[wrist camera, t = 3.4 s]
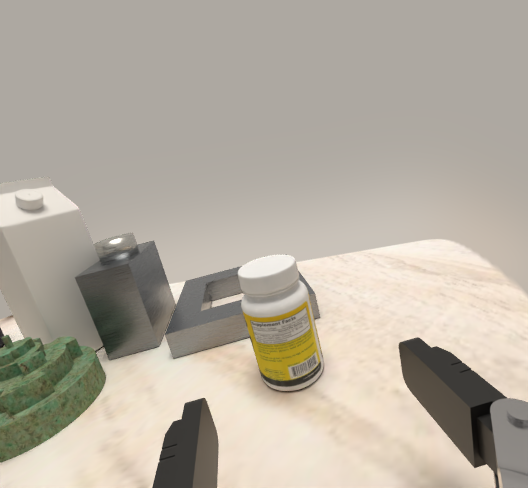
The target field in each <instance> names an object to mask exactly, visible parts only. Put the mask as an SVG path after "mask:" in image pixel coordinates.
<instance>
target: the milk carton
mask: <svg viewBox="0 0 528 488" xmlns="http://www.w3.org/2000/svg"><path fill="white" fill-rule="evenodd" d="M98 261H100V260H99V258H98V255H97V253H96V250H95V247H94V244H93V242H92V239H91V237H90V234H89V232H88V229H87V227H86V224H85V222H84V220H83V217H82V214H81V212H80V209H79V207H78V206H76V205H75V204H74V203H73V202H72V201H70V200H69V199H68V198H67V197H65V196H64V195H63V194H62V193H61V192H59V191H58V190H57V189H56V188H54V187H53V185H52V183H51V181H50V178H49V177H41V178H34V179H27V180H20V181H13V182H6V183H0V290H1V292H2V294H3V296H4V298H5V300H6V302H7V304H8V306H9V308H10V310H11V312H12V314H13V316H14V318H15V320H16V322H17V325H18V327H19V329H20V331H21V333H22V335H23V337H24V339H25V338H26V337H31V338H32V339H36V338H40V339H41V341H42V343H43V345H44V344H48V343H51V342H53V341H54V340H55V339H57V338H58V337H64V336H70V337H74V338H76V340H77V342H78V344H79V346H88V347H91V348H93V349H94V350H95V351H96V350H98V349H99V348H101V347H102V346H103V343H102V341H101V338H100V336H99V334H98V331H97V329H96V327H95V324H94V322H93V320H92V317H91V315H90V312H89V310H88V308H87V305H86V303H85V301H84V298H83V296H82V294H81V291H80V289H79V286H78V284H77V282H76V279H75V277H76V276H77V275H79V274H80V273H82V272H83V271H85V270H86V269H88V268H89V267H91V266H92V265H94V264H95V263H97V262H98Z"/></svg>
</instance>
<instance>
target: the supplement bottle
mask: <svg viewBox="0 0 528 488" xmlns="http://www.w3.org/2000/svg"><path fill="white" fill-rule="evenodd" d="M238 278H239V282H240V287H241V290H242V292H243V293H244V294H245V295H244V296H243V298H242V302H241V307H242V311H243V315H244V318H245V321H246V325H247V328H248V332H249V335H250V339H251V342H252V345H253V349H254V352H255V356H256V359H257V363H258V366H259V369H260V373H261V376H262V379H263V380H264V382H265V383H266V384H267V385H268V386H269V387H271V388H273V389H276V390H280V391H293V390H298V389H302V388H304V387H307V386H309V385H310V384H312V383H313V382H314V381H316V380H317V378H318V377H319V376H320V374H321V372H322V370H323V366H324V361H323V356H322V351H321V347H320V342H319V338H318V334H317V329H316V325H315V321H314V316H313V312H312V307H311V303H310V298H309V293H308V290H307V287H306V286H305V284H304V283H302V282H301V281H299V272H298V269H297V265H296V261H295V259H294V258H293V257H292V256H289V255H271V256H266V257H262V258H258V259H255V260H253V261H250V262H248V263H246V264H245V265H244V266H242V267H241V268H240V269H239V270H238Z"/></svg>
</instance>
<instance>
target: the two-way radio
mask: <svg viewBox="0 0 528 488" xmlns="http://www.w3.org/2000/svg"><path fill="white" fill-rule="evenodd" d="M2 337H4V335H3V333H2V330H1V328H0V346H2V345H3V344H4V342H3V340H2Z"/></svg>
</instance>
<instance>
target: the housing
mask: <svg viewBox="0 0 528 488" xmlns="http://www.w3.org/2000/svg"><path fill="white" fill-rule="evenodd" d="M94 247H95V250H96V253H97V255H98V258H99V260H100V261H98V262H97V263H95V264H94V265H92V266H91V267H89V268H88V269H86V270H85V271H83V272H82V273H80V274H79V275H77V276H76V277H75V279H76V282H77V284H78V286H79V289H80V291H81V294H82V296H83V298H84V301H85V303H86V305H87V308H88V310H89V312H90V315H91V317H92V320H93V322H94V324H95V327H96V329H97V331H98V334H99V336H100V338H101V341H102V343H103V346H104V348H105V350H106V353H107V355H108V357H109V360H112V359H115V358H119V357H123V356H126V355H130V354H133V353H137V352H141V351H144V350H148V349H151V348H155V347H159V346H160V343H161V340H162V338H163V335H164V333H165V330H166V328H167V325H168V323H169V320H170V318H171V315H172V313H173V310H174V308H175V305H176V304H175V301H174V298H173V295H172V292H171V289H170V286H169V283H168V280H167V278H166V275H165V272H164V269H163V266H162V263H161V260H160V257H159V254H158V251H157V248H156V245H155V242H154V241H150V242H146V243H143V244H139V245H137V243H136V240H135V237H134V235H133V233H128V234H123V235H119V236H116V237H112V238H109V239H105V240H103V241H100V242H97V243H95V244H94ZM241 267H242V266H241ZM241 267H237V268H233V269H229V270H225V271H222V272H218V273H215V274H210V275H207V276H203V277H199V278H195V279H192V280H188V281H186V282H185V285H184V287H183V290H182V292H181V295H180V298H179V300H178V303H177V305H176V308H175V310H174V313H173V315H172V318H171V321H170V323H169V326H168V328H167V331H166V333H165V336H166V339H167V342H168V345H169V347H170V350H171V353H172V356H173V358H177V357H181V356H184V355H188V354H191V353H195V352H199V351H202V350H206V349H209V348H213V347H216V346H220V345H224V344H227V343H231V342H234V341H238V340H241V339H245V338H249V337H250V335H249V332H248V328H247V325H246V321H245V318H244V315H243V311H242V307H241V302H242V300H239V301H236V302H232V303H228V304H225V305H221V306H217V307H214V308H211V303H212V301H213V300H217V299H220V298H224V297H228V296H232V295H235V294H239V293H243V292H242V290H241V287H240V282H239V278H238V270H239V269H240V268H241ZM298 272H299V271H298ZM299 281H301V282H302V283H304V284H305V286H306V287H307V290H308V293H309V298H310V303H311V307H312V312H313V316H314V319H316V318H320V314H319V310H318V305H317V300H316V296H315V293H314V291H313V290H312V289H311V287H310V286H309V284H308V283H307V282H306V280H305V279H304V278H303V276H302V275H301V274H300V272H299Z"/></svg>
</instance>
